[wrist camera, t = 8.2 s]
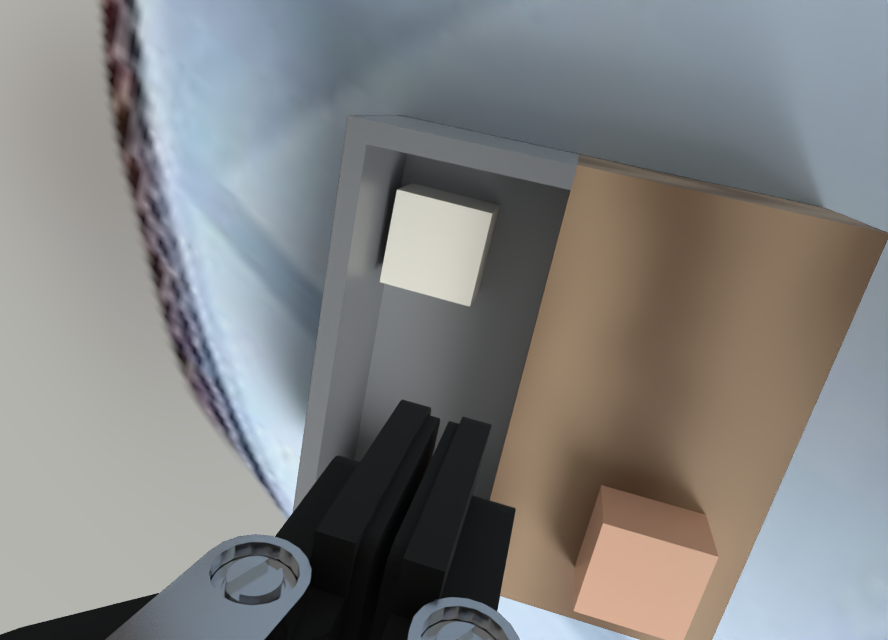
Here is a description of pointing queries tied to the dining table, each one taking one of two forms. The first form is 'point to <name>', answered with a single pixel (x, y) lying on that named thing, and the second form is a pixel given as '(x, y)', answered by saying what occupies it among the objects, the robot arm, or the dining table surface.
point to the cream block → (438, 243)
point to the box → (422, 316)
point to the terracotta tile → (643, 564)
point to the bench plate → (672, 367)
